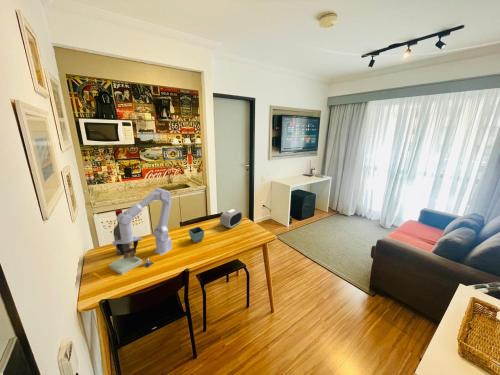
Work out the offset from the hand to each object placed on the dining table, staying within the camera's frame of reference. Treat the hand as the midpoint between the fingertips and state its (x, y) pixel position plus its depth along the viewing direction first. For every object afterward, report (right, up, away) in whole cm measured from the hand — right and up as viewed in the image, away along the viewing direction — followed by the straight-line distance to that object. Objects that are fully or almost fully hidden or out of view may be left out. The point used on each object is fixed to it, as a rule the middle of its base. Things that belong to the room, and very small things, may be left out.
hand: (129, 253), depth 122 cm
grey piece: (+9, -8, +4) cm, 13 cm away
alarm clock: (+56, +6, +59) cm, 82 cm away
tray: (-3, -8, +2) cm, 9 cm away
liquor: (-12, -4, +16) cm, 21 cm away
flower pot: (+32, -1, +32) cm, 45 cm away
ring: (0, -1, 0) cm, 1 cm away
